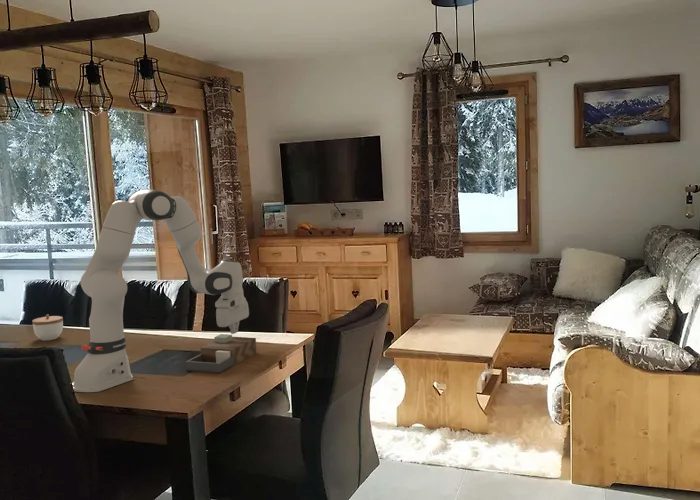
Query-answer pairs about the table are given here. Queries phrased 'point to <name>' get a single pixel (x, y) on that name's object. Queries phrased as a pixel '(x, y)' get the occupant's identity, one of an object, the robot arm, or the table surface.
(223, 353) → the cream tile
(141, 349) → the table surface
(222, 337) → the sage tile
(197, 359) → the box
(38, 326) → the lidded bowl
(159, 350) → the table surface
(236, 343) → the brown flat block
